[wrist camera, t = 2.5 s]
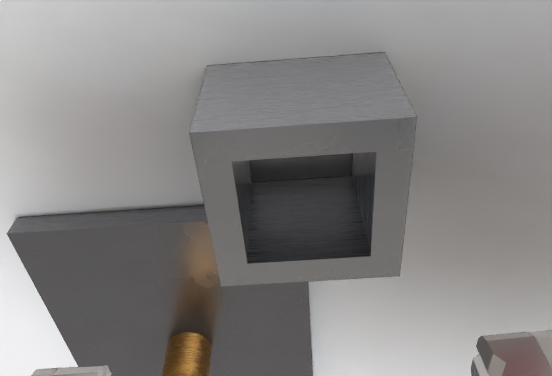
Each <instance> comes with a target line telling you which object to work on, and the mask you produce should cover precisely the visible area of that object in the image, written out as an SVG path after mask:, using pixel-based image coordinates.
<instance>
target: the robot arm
mask: <svg viewBox="0 0 552 376" xmlns="http://www.w3.org/2000/svg"><path fill="white" fill-rule="evenodd" d="M476 347H477V349H478V352H479V354H478V355H477V356H476V357H474V358H473V361H472V366H471V374H472V376H552V331H550V330H547V331H537V332H518V333H507V334H496V335H486V336H481V337H480V338H479V339H478V341H477V345H476ZM111 374H112V373H111V372H110V370H109V368H108V366H107V365H100V366H84V367H69V368H51V369H38V370H35V372H34V373H33V374H32V375H31V376H111Z"/></svg>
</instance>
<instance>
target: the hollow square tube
mask: <svg viewBox="0 0 552 376" xmlns="http://www.w3.org/2000/svg"><path fill="white" fill-rule="evenodd" d="M416 120H417V116H416V114H415V112H414V110H413V108H412V106H411V104H410V102H409V100H408V98H407V96H406V94H405V92H404V90H403V88H402V86H401V84H400V82H399V80H398V78H397V76H396V74H395V72H394V70H393V68H392V66H391V64H390V62H389V60H388V58H387V56H386V54H385V52H383V53H370V54H357V55H344V56H330V57H317V58H304V59H290V60H277V61H264V62H250V63H237V64H224V65H211V66H207V68H206V72H205V76H204V79H203V83H202V87H201V91H200V94H199V98H198V102H197V106H196V109H195V113H194V117H193V121H192V125H191V128H190V132H189V134H190V138H191V143H192V148H193V153H194V158H195V162H196V167H197V172H198V177H199V182H200V186H201V191H202V196H203V201H204V206H205V210H206V215H207V220H208V225H209V230H210V235H211V239H212V244H213V249H214V254H215V259H216V263H217V268H218V273H219V278H220V283H221V286H236V285H253V284H271V283H288V282H305V281H323V280H340V279H357V278H375V277H392V276H400V268H401V259H402V249H403V240H404V231H405V222H406V212H407V203H408V194H409V185H410V175H411V166H412V157H413V148H414V138H415V129H416ZM350 153H353V162H352V176H345V177H330V178H314V179H299V180H284V181H269V182H254V183H252V180H251V173H250V165H249V160H261V159H276V158H291V157H305V156H320V155H335V154H350Z"/></svg>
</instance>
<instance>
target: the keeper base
mask: <svg viewBox="0 0 552 376" xmlns="http://www.w3.org/2000/svg"><path fill="white" fill-rule="evenodd" d="M7 235H8V237H9V239H10V241H11V242H12V244H13V246H14V248H15V250H16V252H17V253H18V255H19V257H20V259H21V261H22V263H23V265H24V266H25V268H26V270H27V272H28V274H29V276H30V278H31V279H32V281H33V283H34V285H35V287H36V289H37V291H38V292H39V294H40V296H41V298H42V300H43V302H44V304H45V305H46V307H47V309H48V311H49V313H50V315H51V316H52V318H53V320H54V322H55V324H56V326H57V328H58V329H59V331H60V333H61V335H62V337H63V339H64V341H65V342H66V344H67V346H68V348H69V350H70V352H71V354H72V355H73V357H74V359H75V361H76V363H77V365H78V367H84V366H100V365H107V366H108V368H109V370H110V372H111V373H112V374H111V376H313V371H312V352H311V333H310V314H309V296H308V281H305V282H288V283H271V284H253V285H236V286H221V283H220V278H219V273H218V268H217V263H216V259H215V254H214V249H213V244H212V239H211V235H210V230H209V225H208V220H207V215H206V210H205V206H190V207H175V208H159V209H144V210H128V211H113V212H97V213H81V214H66V215H50V216H35V217H19V218H17V219H16V220H15V222H14V223H13V225H12V226H11V228H10V229H9V231H8V232H7Z"/></svg>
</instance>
